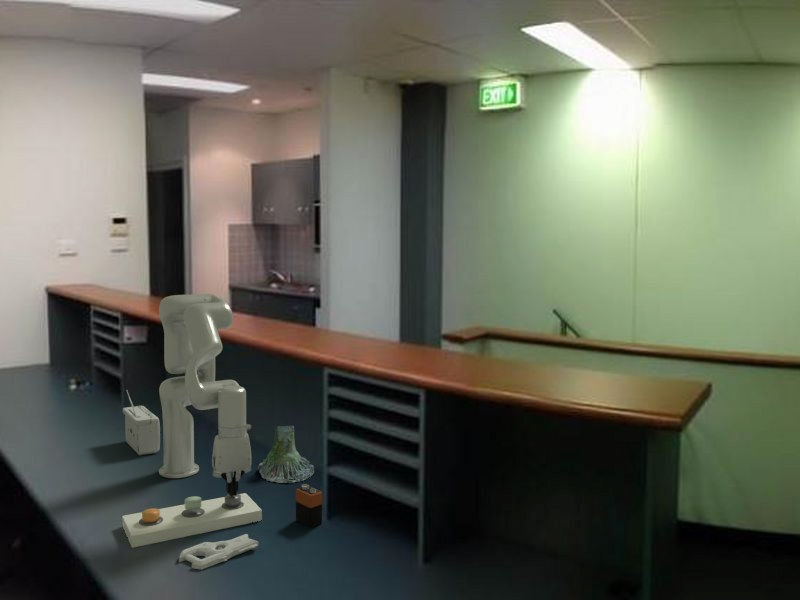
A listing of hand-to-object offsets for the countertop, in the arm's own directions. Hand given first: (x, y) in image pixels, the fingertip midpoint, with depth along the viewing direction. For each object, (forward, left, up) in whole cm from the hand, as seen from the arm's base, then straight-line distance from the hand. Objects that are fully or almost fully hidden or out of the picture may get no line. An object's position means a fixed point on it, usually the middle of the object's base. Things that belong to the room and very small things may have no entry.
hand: (232, 494), depth 193 cm
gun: (+21, -10, -7) cm, 25 cm away
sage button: (0, -11, -1) cm, 11 cm away
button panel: (0, -11, -6) cm, 13 cm away
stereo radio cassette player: (-74, -11, -6) cm, 75 cm away
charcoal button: (0, 0, -3) cm, 3 cm away
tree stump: (-25, +26, -7) cm, 36 cm away
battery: (+14, +17, -6) cm, 23 cm away
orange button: (0, -22, -3) cm, 22 cm away
